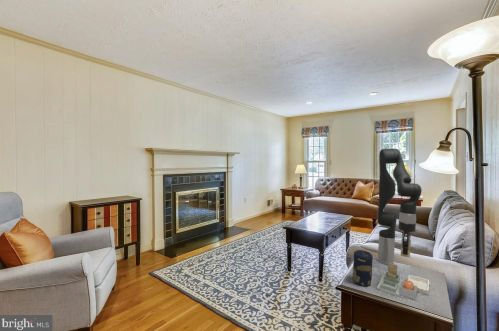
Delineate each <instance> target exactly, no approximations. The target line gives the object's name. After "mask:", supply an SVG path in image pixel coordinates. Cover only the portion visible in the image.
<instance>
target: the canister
mask: <svg viewBox="0 0 499 331" xmlns="http://www.w3.org/2000/svg"><path fill="white" fill-rule="evenodd" d="M352 264H353V266H352V280H353V282H354V283H355V284H357V285H360V286H363V287H364V286H365V287H367V286H370V285H372V282H373V281H372V280H373V254H372V253H371V252H369V251H367V250H362V249H357V250H355V251H354V252H353V262H352Z"/></svg>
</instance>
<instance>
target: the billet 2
mask: <svg viewBox="0 0 499 331" xmlns="http://www.w3.org/2000/svg"><path fill="white" fill-rule="evenodd" d="M408 242H409V240H408ZM400 244H401V246H400V256H401V257H406V258H411V247H412V239H410V243H409V244H408V247H409V248H408V255H404V254H403V247H402V245H403V242H402V240H401V243H400ZM404 245H407V244H404Z"/></svg>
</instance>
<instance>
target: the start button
mask: <svg viewBox="0 0 499 331" xmlns="http://www.w3.org/2000/svg"><path fill="white" fill-rule="evenodd" d="M403 282H404V288H407V289H411V290H413V286H414V283H413V282H411V281H407V280H403Z"/></svg>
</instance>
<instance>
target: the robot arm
mask: <svg viewBox="0 0 499 331" xmlns="http://www.w3.org/2000/svg"><path fill="white" fill-rule="evenodd" d="M378 161H379V183H378V206H377V208H378V209H377V218H376V220H377V224H378V226H383V227H389V228H386V229H381V230H379V232H378V246H377V247H378V249H377V261H378V262H379V263H381V264H384V265H389V263H391V264H394V263H395V262H394V261H395V260H394V259H395V243H396V226H397V214H396V213H395V212H390V211H389V212H388V211H384V210H385V207H386V206H387V205H388V203H389V202H390V201H391V200H392V199H393V198H394V196H396V190H397V194H398V195H399V196H401V197H403V198H404V197H405V198H407V197H408V199H407V200H401V202H400V204H399V205H400V206H399V214H398V230H400V231H403V232H402V233H401V241H402V242H403V245H402V247H403V254H404V255H408V248H409V247H408V244H409V243H410V240H411V237H412V233H413V232H416V225H417V204H418V202H419V200H420V197H421V195H422V187H421V185H420V184H418V183H411V182H412V178H411V176H410V174H409V172H408V171H407V169H406V166H405V163H404V159H403V157H402V154H401V152H400V150H399V149H398V148H382V149H380V150H379V153H378ZM387 164H388V165H389V164H395V165H396V166H394V168H393V172H392V175H393V177H394V178H393V177H392V176H391V174H390V173H389V171H388V167H387ZM394 179H395V180H394ZM396 188H397V189H396ZM408 240H409V242H408ZM404 244H407V245H404Z"/></svg>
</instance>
